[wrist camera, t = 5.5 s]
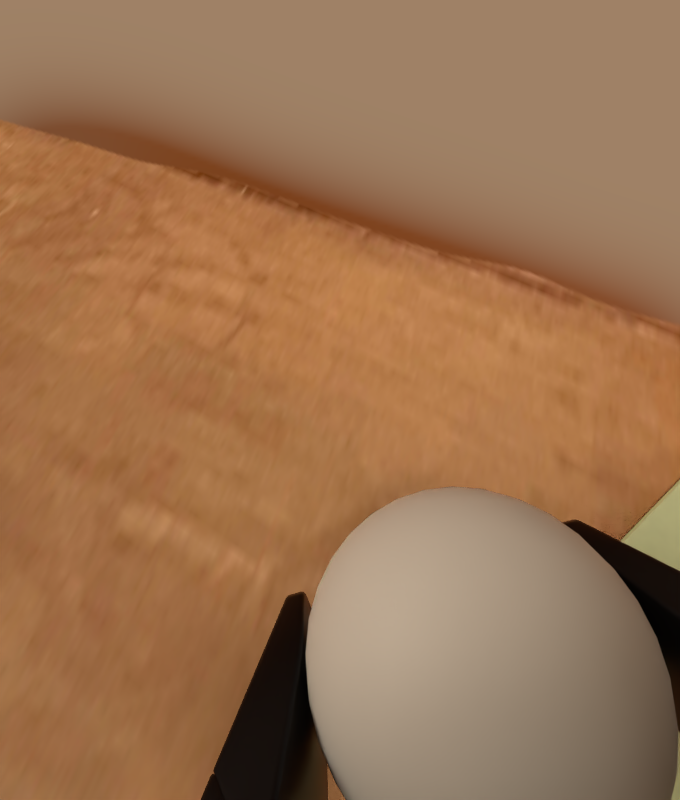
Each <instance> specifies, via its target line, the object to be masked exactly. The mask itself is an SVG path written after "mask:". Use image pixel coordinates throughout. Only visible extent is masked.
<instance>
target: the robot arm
mask: <svg viewBox="0 0 680 800" xmlns="http://www.w3.org/2000/svg"><path fill="white" fill-rule="evenodd" d="M562 523H563V524H565V525H566V526H568V527H569V528H570V529H572V530H573V531H575V532H576V533H578V534H579V535H580V536H581V537H582V538H583V539H584V540H585V541H586V542H587V543H588V544H589V545H590V546H591V547H592V548H593V549H594V550H595V551H596V552H597V553H598V554H599V555H600V556H601V557H602V558H603V559H604V560H605V561H606V562H607V563H609V564H610V565H611V566H612V567H613V568H614V569H615V571H616V572H617V574H618V575H619V576H620V578H621V579H622V580H623V582H624V583H625V584H626V586H627V587H628V588H629V590H630V591H631V592H632V594H633V595H634V597H635V598H636V599H637V601H638V602H639V604H640V606H641V608H642V610H643V612H644V614H645V616H646V618H647V620H648V621H649V623H650V625H651V627H652V629H653V631H654V633H655V635H656V637H657V639H658V642H659V645H660V648H661V652H662V655H663V658H664V661H665V664H666V667H667V670H668V673H669V676H670V679H671V686H672V692H673V699H674V705H675V711H676V718H677V725H678V731H679V732H680V571H679V570H677V569H675V568H673V567H671V566H669V565H667V564H665V563H663V562H661V561H659V560H657V559H655V558H653V557H651V556H649V555H647V554H645V553H643V552H641V551H639V550H637V549H635V548H633V547H631V546H629V545H627V544H625V543H623V542H621V541H619V540H617V539H615V538H613V537H611V536H609V535H607V534H605V533H603V532H601V531H599V530H597V529H595V528H593V527H591V526H589V525H587V524H585V523H583V522H581V521H579V520H570V521H566V522H562ZM311 609H312V608H311V606H310V603H309V601H308V598H307V596H306V594H305V593H304V592H299V593H295V594H291V595H289V596H288V597H287V598H286V600H285V602H284V604H283V607H282V609H281V611H280V614H279V616H278V618H277V621H276V623H275V626H274V628H273V630H272V633H271V635H270V637H269V640H268V642H267V644H266V647H265V649H264V652H263V654H262V656H261V659H260V661H259V663H258V666H257V668H256V670H255V673H254V675H253V678H252V680H251V682H250V685H249V687H248V689H247V692H246V694H245V696H244V699H243V701H242V704H241V706H240V708H239V711H238V713H237V715H236V718H235V720H234V722H233V725H232V727H231V730H230V732H229V734H228V737H227V739H226V741H225V744H224V746H223V748H222V751H221V753H220V756H219V758H218V760H217V763H216V765H215V767H214V774H212V775H211V776H210V779H209V781H208V783H207V786H206V788H205V791H204V793H203V795H202V798H201V800H328V780H327V761H326V759H325V756H324V754H323V752H322V749H321V747H320V745H319V742H318V738H317V734H316V730H315V725H314V721H313V717H312V713H311V709H310V704H309V697H308V685H307V671H306V657H305V653H306V642H307V632H308V622H309V616H310V613H311Z"/></svg>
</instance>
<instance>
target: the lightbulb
mask: <svg viewBox="0 0 680 800" xmlns="http://www.w3.org/2000/svg"><path fill="white" fill-rule="evenodd" d="M305 657H306V671H307V685H308V697H309V704H310V709H311V713H312V717H313V721H314V725H315V730H316V734H317V738H318V742H319V745H320V747H321V749H322V752H323V754H324V756H325V759H326V761H327V764H328V766H329V768H330V771H331V773H332V775H333V778H334V780H335V782H336V784H337V786H338V787H339V789H340V791H341V792H342V794H343V796H344V797H345V799H346V800H671V799H672V794H673V790H674V785H675V780H676V776H677V767H678V725H677V718H676V711H675V705H674V699H673V692H672V686H671V679H670V676H669V673H668V670H667V667H666V664H665V661H664V658H663V655H662V652H661V648H660V645H659V642H658V639H657V637H656V635H655V633H654V631H653V629H652V627H651V625H650V623H649V621H648V620H647V618H646V616H645V614H644V612H643V610H642V608H641V606H640V604H639V602H638V601H637V599H636V598H635V597H634V595H633V594H632V592H631V591H630V590H629V588H628V587H627V586H626V584H625V583H624V582H623V580H622V579H621V578H620V576H619V575H618V574H617V572H616V571H615V569H614V568H613V567H612V566H611V565H610V564H609V563H607V562H606V561H605V560H604V559H603V558H602V557H601V556H600V555H599V554H598V553H597V552H596V551H595V550H594V549H593V548H592V547H591V546H590V545H589V544H588V543H587V542H586V541H585V540H584V539H583V538H582V537H581V536H580V535H579V534H578V533H576V532H575V531H573V530H572V529H570V528H569V527H568V526H566V525H565V524H563V523H562V522H561V521H559V520H558V519H556V518H555V517H553V516H552V515H551V514H549V513H547V512H545V511H542V510H540V509H538V508H536V507H534V506H532V505H530V504H528V503H526V502H524V501H521V500H519V499H516V498H513V497H510V496H506V495H503V494H499V493H495V492H492V491H488V490H484V489H477V488H464V487H445V488H437V489H429V490H422V491H420V492H417V493H414V494H411V495H408V496H405V497H402V498H399V499H396V500H394V501H393V502H391V503H389V504H388V505H386V506H384V507H382V508H381V509H379V510H377V511H376V512H374V513H372V514H371V515H370V516H369V517H368V518H366V519H365V520H364V521H363V522H362V523H361V524H360V525H359V526H358V527H356V528H355V529H354V530H353V531H352V532H351V533H350V534H349V535H348V537H347V538H346V539H345V541H344V542H343V543H342V545H341V546H340V547H339V549H338V550H337V551H336V553H335V554H334V555H333V557H332V558H331V560H330V562H329V565H328V567H327V569H326V571H325V573H324V575H323V577H322V579H321V581H320V583H319V585H318V588H317V591H316V595H315V598H314V602H313V606H312V609H311V613H310V616H309V622H308V632H307V642H306V653H305Z"/></svg>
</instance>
